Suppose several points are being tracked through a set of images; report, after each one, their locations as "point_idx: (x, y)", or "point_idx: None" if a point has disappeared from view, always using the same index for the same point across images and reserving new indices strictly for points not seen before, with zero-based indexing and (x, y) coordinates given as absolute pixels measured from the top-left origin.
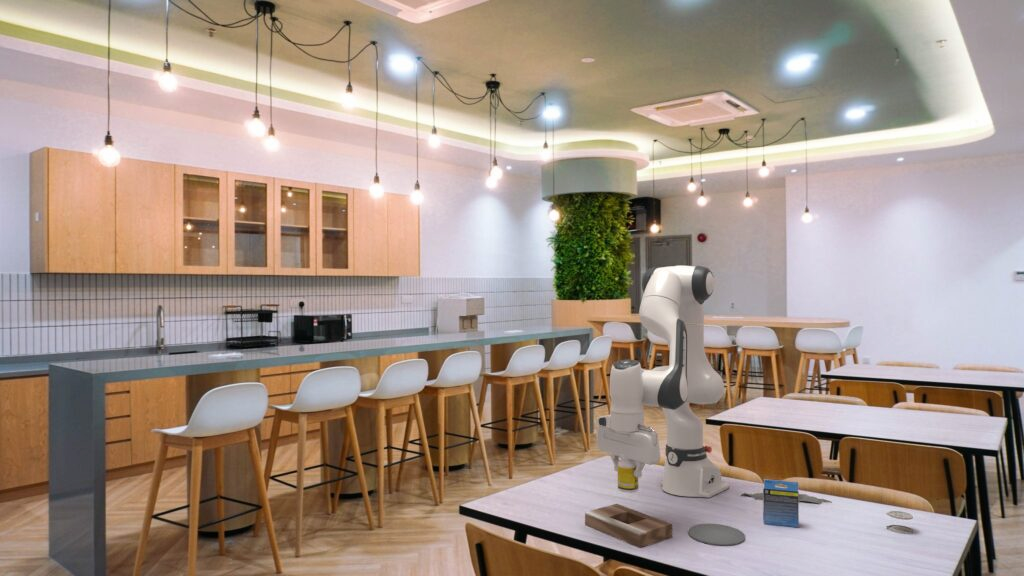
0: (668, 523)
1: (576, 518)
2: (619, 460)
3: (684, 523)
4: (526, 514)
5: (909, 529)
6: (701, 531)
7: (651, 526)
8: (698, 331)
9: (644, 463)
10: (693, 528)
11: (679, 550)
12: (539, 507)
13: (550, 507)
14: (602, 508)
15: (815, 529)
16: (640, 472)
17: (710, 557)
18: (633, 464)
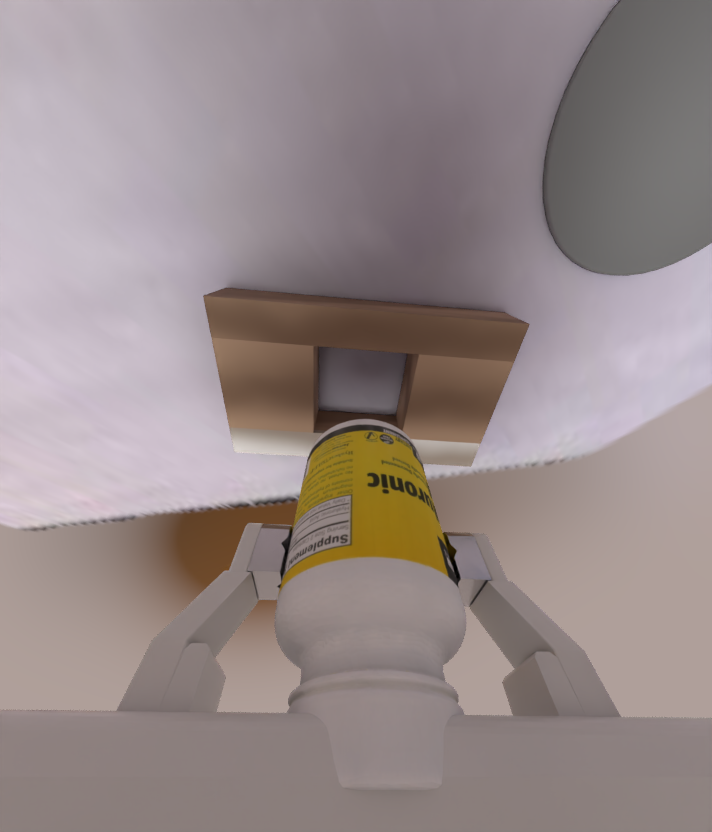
0: (514, 332)
1: (187, 411)
2: (295, 664)
3: (490, 95)
4: (102, 478)
5: None
6: (612, 173)
7: (472, 401)
8: None
9: (587, 668)
10: (567, 166)
11: (558, 384)
12: (44, 425)
13: (51, 402)
14: (231, 389)
15: None
16: (495, 571)
17: (658, 361)
18: (456, 651)
